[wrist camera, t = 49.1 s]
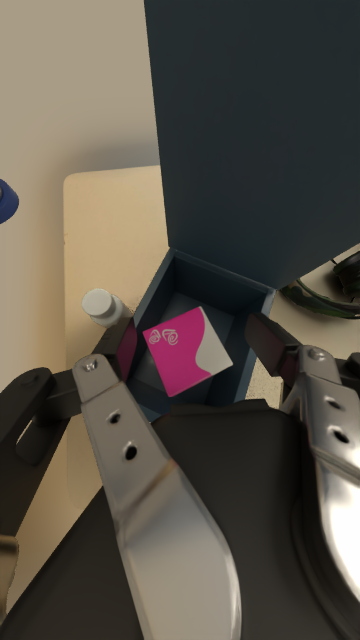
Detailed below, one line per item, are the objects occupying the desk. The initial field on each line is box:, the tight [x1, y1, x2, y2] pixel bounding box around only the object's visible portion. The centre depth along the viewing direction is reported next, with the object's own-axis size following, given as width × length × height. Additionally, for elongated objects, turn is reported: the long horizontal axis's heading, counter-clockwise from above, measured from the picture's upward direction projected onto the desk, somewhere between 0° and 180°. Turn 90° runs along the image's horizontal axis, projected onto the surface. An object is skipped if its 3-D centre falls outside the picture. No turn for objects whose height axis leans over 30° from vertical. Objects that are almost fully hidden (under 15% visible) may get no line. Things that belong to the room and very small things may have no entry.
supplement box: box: [143, 306, 233, 397], centre depth 18 cm, size 6×6×12 cm
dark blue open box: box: [125, 248, 276, 423], centre depth 20 cm, size 17×13×10 cm
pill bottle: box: [82, 288, 132, 328], centre depth 21 cm, size 4×4×8 cm
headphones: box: [282, 251, 360, 319], centre depth 24 cm, size 13×13×20 cm
